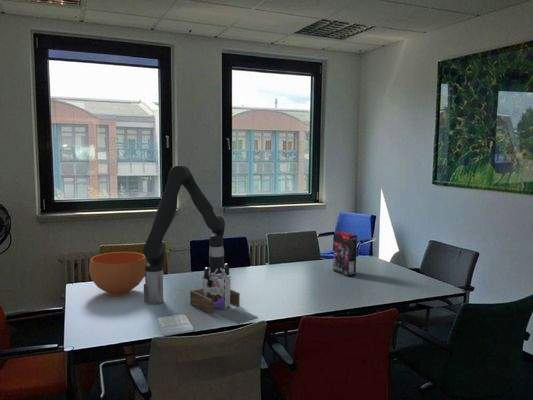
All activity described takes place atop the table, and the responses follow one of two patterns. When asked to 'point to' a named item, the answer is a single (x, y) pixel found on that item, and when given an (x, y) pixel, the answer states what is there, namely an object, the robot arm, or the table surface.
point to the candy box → (218, 291)
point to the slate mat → (237, 315)
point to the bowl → (117, 272)
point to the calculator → (175, 324)
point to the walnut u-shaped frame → (206, 303)
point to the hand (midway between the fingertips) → (217, 285)
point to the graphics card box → (345, 253)
